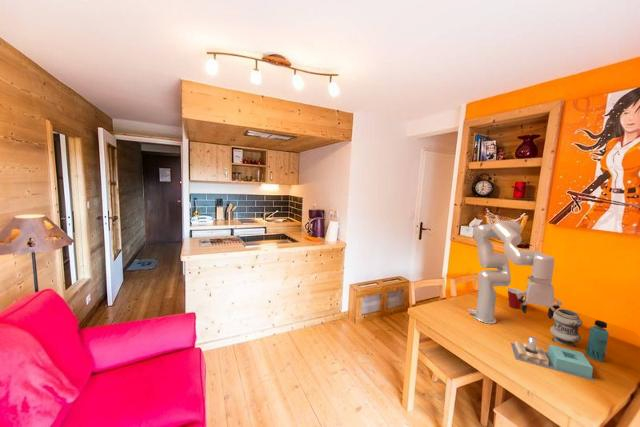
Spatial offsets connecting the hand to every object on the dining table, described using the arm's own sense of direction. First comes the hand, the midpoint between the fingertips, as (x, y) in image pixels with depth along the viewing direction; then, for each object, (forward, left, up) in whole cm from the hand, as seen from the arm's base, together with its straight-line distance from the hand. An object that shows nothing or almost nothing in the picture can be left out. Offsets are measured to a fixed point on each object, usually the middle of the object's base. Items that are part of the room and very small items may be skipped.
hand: (536, 314), depth 126 cm
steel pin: (0, 0, -21) cm, 21 cm away
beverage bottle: (+28, +15, -23) cm, 39 cm away
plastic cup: (+3, +64, -23) cm, 68 cm away
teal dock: (+14, 0, -21) cm, 25 cm away
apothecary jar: (+19, +25, -23) cm, 38 cm away
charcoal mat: (+7, 0, -23) cm, 23 cm away
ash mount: (0, 0, -21) cm, 21 cm away
